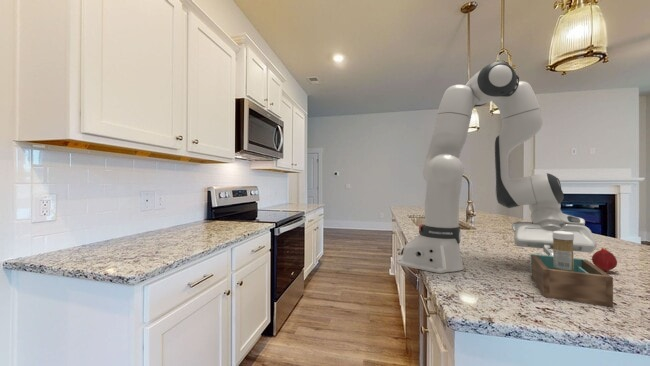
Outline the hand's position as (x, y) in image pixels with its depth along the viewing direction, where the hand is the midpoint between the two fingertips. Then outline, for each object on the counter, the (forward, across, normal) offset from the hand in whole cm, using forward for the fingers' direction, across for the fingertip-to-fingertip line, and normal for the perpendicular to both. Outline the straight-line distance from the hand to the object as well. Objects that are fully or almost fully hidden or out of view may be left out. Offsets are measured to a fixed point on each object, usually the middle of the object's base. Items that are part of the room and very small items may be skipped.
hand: (556, 259), depth 83 cm
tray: (+8, 0, -2) cm, 9 cm away
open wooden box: (+11, 0, -3) cm, 12 cm away
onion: (-7, +16, +16) cm, 23 cm away
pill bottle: (+8, 0, -2) cm, 8 cm away
